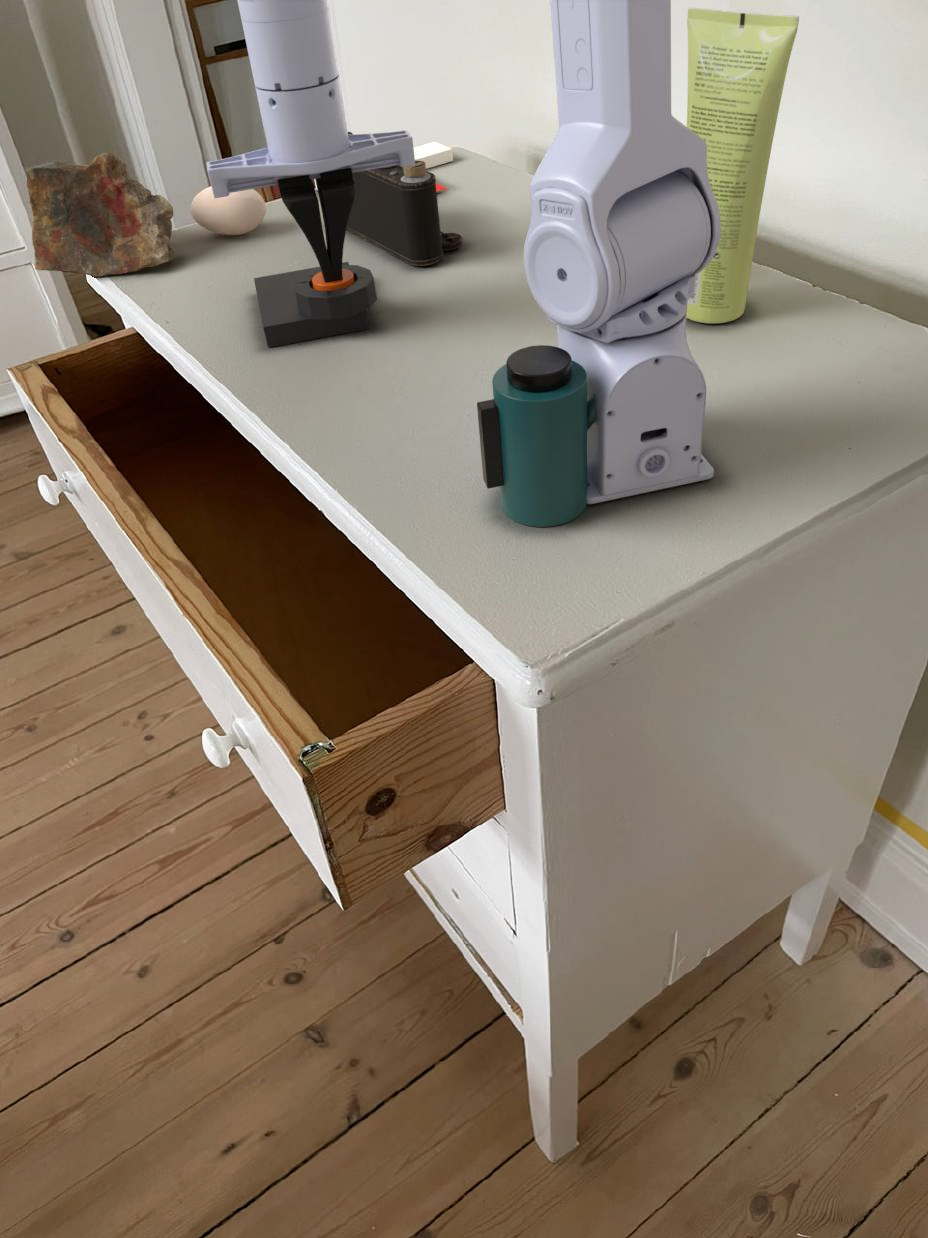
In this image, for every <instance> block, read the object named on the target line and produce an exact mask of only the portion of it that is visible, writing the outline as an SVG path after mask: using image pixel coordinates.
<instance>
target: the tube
mask: <svg viewBox="0 0 928 1238" xmlns="http://www.w3.org/2000/svg"><path fill="white" fill-rule="evenodd" d="M686 19H687V20H686V27H687V98H686V99H687V100H686V101H687V103H686V104H687V105H686V127H687V128H689V129H690V130H691V131H693V132H694V133H696V134H697V135H699V136H700V137H701V138H702V139H703V140H704V141H705V142H706V144H707V171H708V178H709V182H710V186H711V189H712V191H713V194H714V196H715V199H716V202H717V204H718V209H719V213H720V221H721V232H720V239H719V244H718V247H717V250H716V253H715V255H714V256H713V258H712V260H711V261H710V263H709V264H708V265H707V266H706V267H705V268H704V269H703V270H702V271H701V272H699V273H698V274H696V275H695V283H694V295H693V296H692V297H691V298H689V300H688V303H687V317H686V319H687V320H689V321H693V322H696V323H702V324H723V323H729V322H732V321H735V320H737V319H738V318H741V316H742V315H743V314H744V312H745V311H746V310H745V309H746V303H747V298H748V293H749V292H748V291H749V284H750V279H751V278H750V277H751V271H752V267H753V266H752V264H753V259H754V252H755V246H756V239H757V233H758V227H759V221H760V215H761V207H762V203H763V197H764V191H765V186H766V180H767V175H768V169H769V164H770V159H771V152H772V147H773V142H774V137H775V132H776V131H775V130H776V126H777V120H778V115H779V112H780V111H779V110H780V105H781V100H782V95H783V91H784V86H785V80H786V77H787V72H788V67H789V63H790V59H791V55H792V51H793V48H794V47H793V46H794V43H795V39H796V37H797V33H798V29H799V28H798V27H799V22H800V16H799V15H793V14H792V15H790V14H789V15H788V14H773V13H760V12H743V11H732V10H722V9H714V8H713V9H711V8H701V7H688V8H687V17H686Z"/></svg>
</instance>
